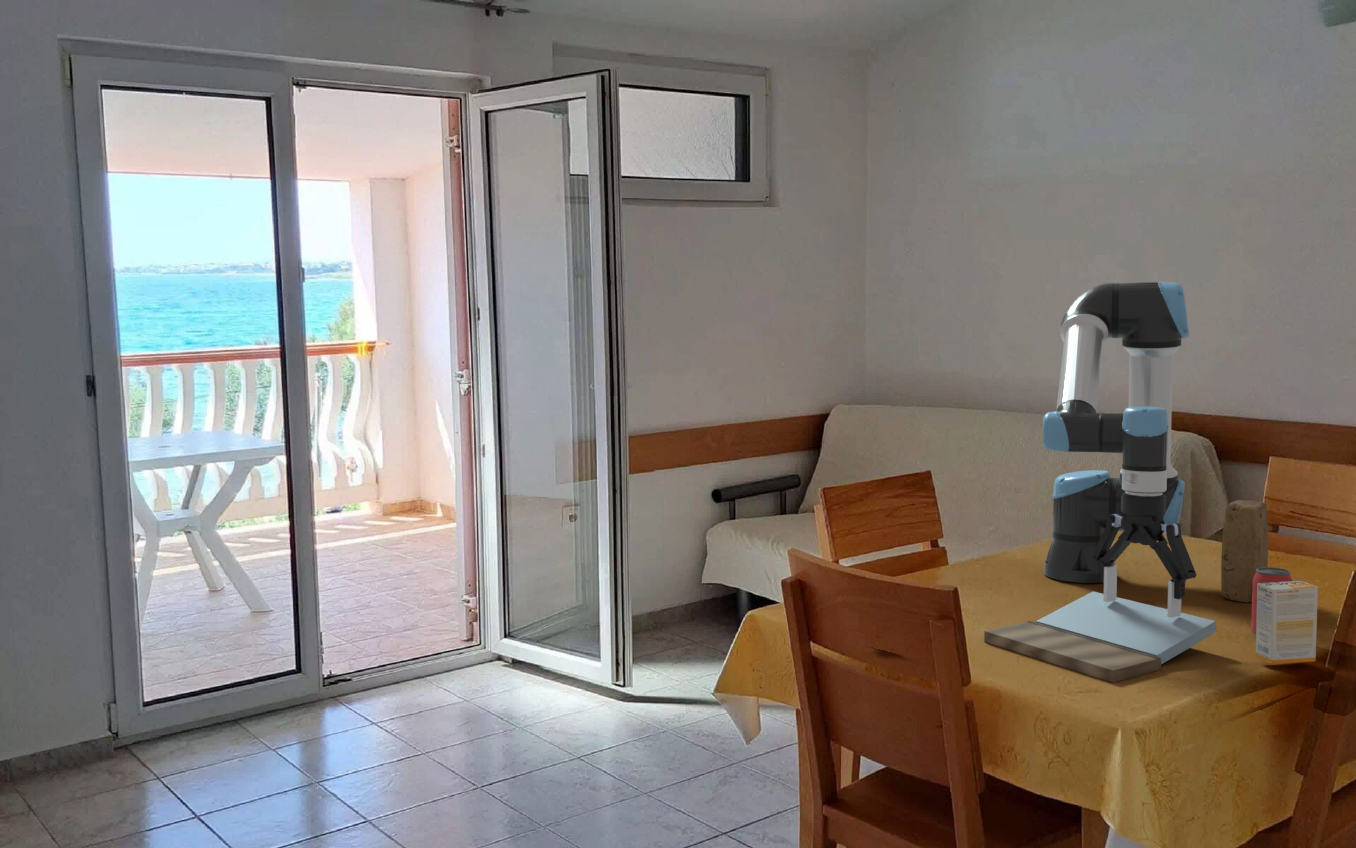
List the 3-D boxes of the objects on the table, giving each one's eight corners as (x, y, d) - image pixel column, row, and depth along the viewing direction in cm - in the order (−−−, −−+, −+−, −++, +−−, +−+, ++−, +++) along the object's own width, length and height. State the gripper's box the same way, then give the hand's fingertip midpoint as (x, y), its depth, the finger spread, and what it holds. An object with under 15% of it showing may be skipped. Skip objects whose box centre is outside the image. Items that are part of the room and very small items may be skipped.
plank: (1037, 631, 218) (1036, 621, 217) (1094, 601, 225) (1092, 591, 225) (1158, 666, 196) (1157, 655, 195) (1216, 631, 203) (1215, 621, 203)
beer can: (1289, 641, 209) (1292, 576, 208) (1249, 637, 213) (1251, 572, 211) (1292, 633, 215) (1295, 568, 213) (1253, 628, 218) (1255, 565, 217)
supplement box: (1298, 654, 202) (1300, 579, 200) (1316, 662, 197) (1319, 586, 196) (1253, 656, 201) (1256, 582, 199) (1270, 665, 196) (1273, 588, 195)
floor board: (984, 641, 212) (984, 630, 212) (1030, 631, 218) (1030, 620, 218) (1112, 682, 188) (1113, 670, 188) (1160, 669, 194) (1161, 657, 194)
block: (1256, 605, 234) (1260, 507, 232) (1217, 600, 239) (1220, 503, 237) (1270, 595, 242) (1274, 499, 240) (1232, 590, 247) (1235, 496, 245)
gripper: (1073, 486, 219) (1071, 597, 221) (1192, 503, 198) (1189, 626, 200) (1100, 483, 223) (1098, 592, 225) (1219, 499, 202) (1216, 619, 204)
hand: (1141, 608), depth 212 cm, fingers open, 13 cm apart
